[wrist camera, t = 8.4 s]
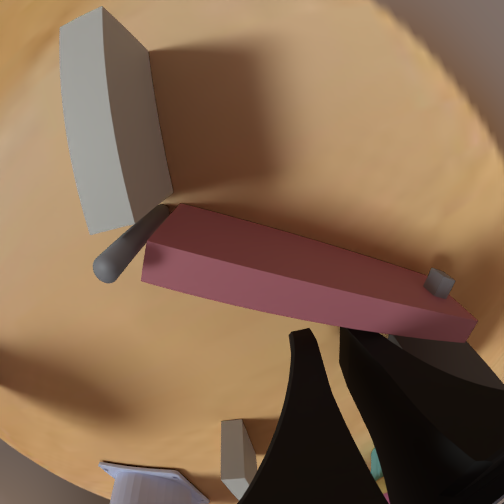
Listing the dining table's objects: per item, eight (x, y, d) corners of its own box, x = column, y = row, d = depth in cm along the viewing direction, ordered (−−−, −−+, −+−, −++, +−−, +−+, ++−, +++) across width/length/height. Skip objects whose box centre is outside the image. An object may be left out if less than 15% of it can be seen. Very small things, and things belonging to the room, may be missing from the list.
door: (432, 259, 11) (488, 302, 7) (416, 293, 11) (464, 343, 8) (185, 181, 9) (153, 205, 5) (174, 229, 10) (140, 281, 6)
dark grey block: (424, 371, 14) (467, 439, 8) (371, 384, 14) (409, 467, 8) (446, 320, 12) (507, 388, 7) (389, 331, 12) (449, 420, 7)
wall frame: (255, 454, 16) (260, 511, 11) (238, 455, 16) (241, 512, 11) (148, 50, 7) (87, -7, 3) (117, 61, 7) (43, 18, 3)
